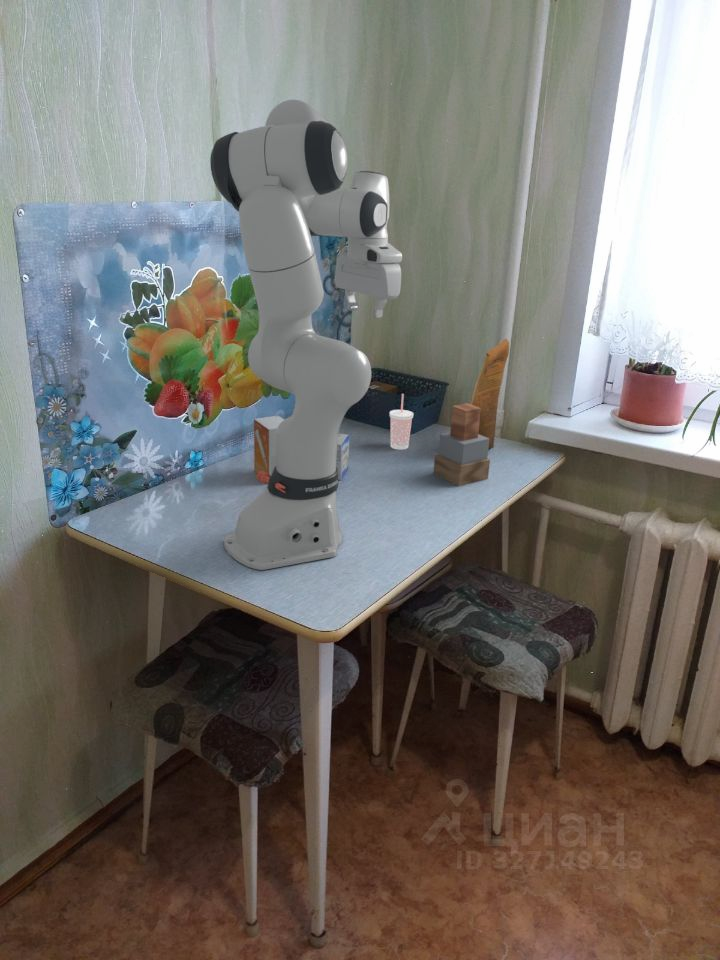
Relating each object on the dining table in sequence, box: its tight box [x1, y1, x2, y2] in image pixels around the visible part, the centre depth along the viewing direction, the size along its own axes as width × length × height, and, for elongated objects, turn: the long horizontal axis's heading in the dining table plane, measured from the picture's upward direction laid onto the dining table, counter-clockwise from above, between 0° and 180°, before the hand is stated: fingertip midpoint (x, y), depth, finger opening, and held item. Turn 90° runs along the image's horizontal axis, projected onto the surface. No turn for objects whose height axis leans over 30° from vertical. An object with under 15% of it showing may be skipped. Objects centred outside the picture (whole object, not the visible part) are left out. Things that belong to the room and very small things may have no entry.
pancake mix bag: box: [470, 338, 510, 451], centre depth 190 cm, size 7×19×28 cm, turn 147°
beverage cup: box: [389, 393, 415, 450], centre depth 193 cm, size 6×6×14 cm
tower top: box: [437, 431, 489, 465], centre depth 176 cm, size 8×8×5 cm
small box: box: [253, 415, 285, 477], centre depth 171 cm, size 8×6×13 cm
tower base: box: [433, 453, 491, 487], centre depth 177 cm, size 9×9×5 cm
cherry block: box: [449, 402, 481, 441], centre depth 173 cm, size 4×4×7 cm
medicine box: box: [336, 433, 350, 481], centre depth 175 cm, size 8×4×9 cm, turn 168°
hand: (364, 313), depth 174 cm, fingers open, 8 cm apart
